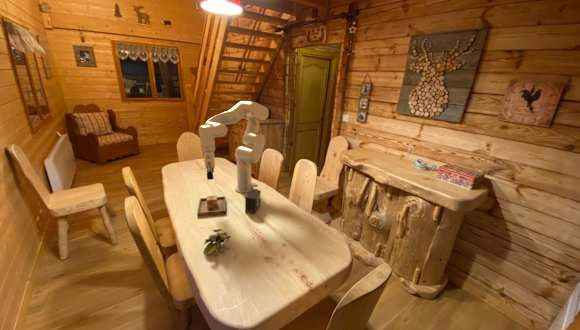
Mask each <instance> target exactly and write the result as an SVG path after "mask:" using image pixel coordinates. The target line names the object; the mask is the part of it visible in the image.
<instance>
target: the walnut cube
mask: <svg viewBox="0 0 580 330" xmlns="http://www.w3.org/2000/svg"><path fill="white" fill-rule="evenodd" d="M217 197H218V196H217V195H216V194H215V195H206V198H207V209H209V208H217Z"/></svg>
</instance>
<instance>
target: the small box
mask: <svg viewBox="0 0 580 330" xmlns="http://www.w3.org/2000/svg"><path fill="white" fill-rule="evenodd" d="M261 192H262V191H261V190H255V189H253V190H251V191H250V192H248V193H246V195H245V198H244V201H245V205H244V206H245V207H244V209H245V211H244V212H245V213H248V214H253V215H254V214H256V213H257V211H258V210H259V209H260V206H261Z"/></svg>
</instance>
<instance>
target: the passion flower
mask: <svg viewBox="0 0 580 330" xmlns="http://www.w3.org/2000/svg"><path fill="white" fill-rule="evenodd" d="M212 231H213V232H214V234H210V235H209V236H208V239H207V238H205V239H204V242H203V245H206V244H207V245H206V246H205V248H204V249H203V254H207V255H209V254H210V253H212V252H214V250H215V252H216V253H217V254H218V255H221V253H222V251H223V249H224V248H225V245H226V243H227V242H228V240H230V238H231V235H228V233H227V231H225V232H222V233H221V231H222V229H221V228H220V229H219V228H218V229H217V228H216V229H213V230H212ZM215 232H216V233H215ZM219 232H220V233H219ZM225 240H226V241H225ZM222 243H224V244H223V245H221V244H222Z"/></svg>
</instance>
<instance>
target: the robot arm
mask: <svg viewBox="0 0 580 330" xmlns="http://www.w3.org/2000/svg"><path fill="white" fill-rule="evenodd" d="M269 115H270V113H269V109H268V108H267V107H266V106H265V105H262V104H260V103H257V102H256V101H249V100H241V101H239V102H238V103H236V104H235V105H234V106H233V107H231V108H230V109H229V110H227V111H224V112H221V113H218V114H216V115H213V116H212V117H211V118H209V119H208V120H207V121H206V122H204V124H203V125H200V126H199V128H198V132H199V142H200V143H199V144H200V151H201V152H203V159H204V166H205V169H206V179H207V180H209V181H210V180H214V172H215V167H216V162H215V161H216V160H215V151H216V142H215V141H216V140H215V138H222V137H225V136H226V135H227V134H228V131H229V130H228V127H227V125H232V124H237V123H238V122H239V121H241V120H242V119H243V118H244V117H245V116H246V119H247V120H246V121H247V125H246V128H245V130H244V134H243V135H242V143H243V145H240V146H238V147H236V149H235V151H234V156H235V161H236V177H237V178H236V179H237V181H236V182H237V186H235V191H236V192H237V193H240V194H248V193H249V192H250V191H251V190H254V188H258V187H259V185H258V184H259V183H258V184H257V183H256V182H253V183H252V166H251V165H252V164H256V163H258V162H259V160H260V158H261V156H262V153H263V150H264V148H265V143H266V137H265V135H264V134H262V133H259V131H260V122H259V120H260V121H261V120H262V121H263V120H264V121H265V120H267V119H268V117H269ZM244 145H245V146H244ZM251 163H252V164H251Z"/></svg>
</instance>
